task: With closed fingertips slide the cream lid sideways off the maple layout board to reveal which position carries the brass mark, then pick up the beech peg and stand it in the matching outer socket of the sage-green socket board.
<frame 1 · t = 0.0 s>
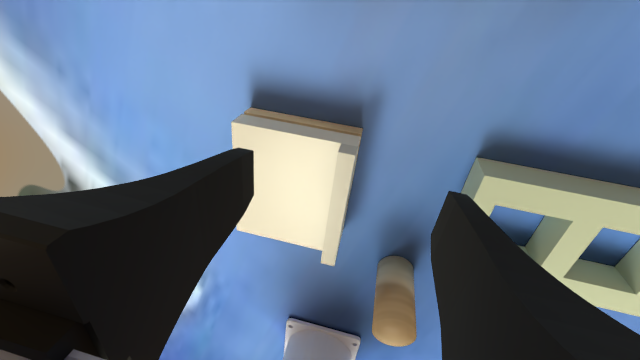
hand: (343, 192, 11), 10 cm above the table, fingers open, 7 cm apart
socket board: (552, 226, 21), on the table
lid: (289, 192, 21), point 3 cm above the table, slide at 0.0 cm
peg: (395, 268, 26), on the table
layout board: (300, 173, 24), on the table
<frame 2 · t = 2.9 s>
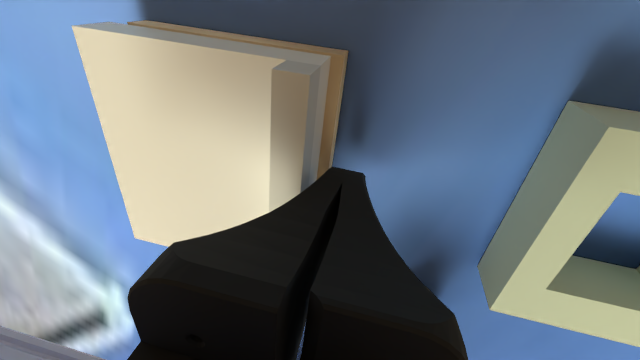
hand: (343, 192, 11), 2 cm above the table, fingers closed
lid: (206, 171, 12), point 3 cm above the table, slide at 0.4 cm, touching gripper
layout board: (245, 143, 14), on the table
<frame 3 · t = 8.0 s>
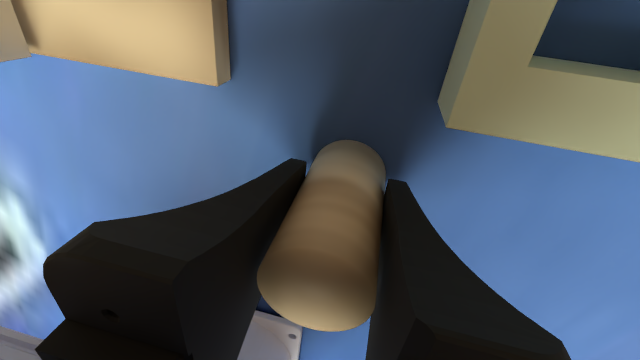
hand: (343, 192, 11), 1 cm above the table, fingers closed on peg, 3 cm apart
peg: (348, 173, 13), on the table, touching gripper
when the fingers open (3 cm above the table, at t = 11.0 s): peg drops 1 cm, resting in socket board.
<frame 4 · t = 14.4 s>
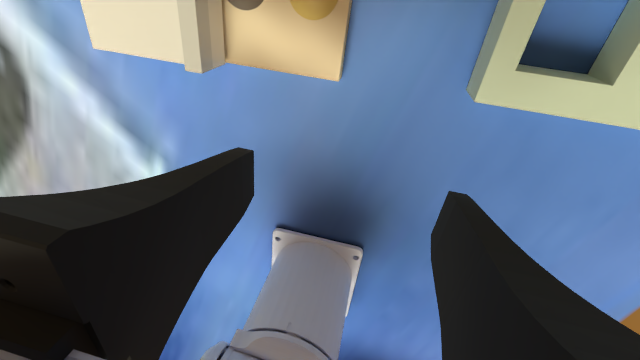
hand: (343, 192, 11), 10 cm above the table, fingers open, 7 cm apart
socket board: (630, 31, 15), on the table
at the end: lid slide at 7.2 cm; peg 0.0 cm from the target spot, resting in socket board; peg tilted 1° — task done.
